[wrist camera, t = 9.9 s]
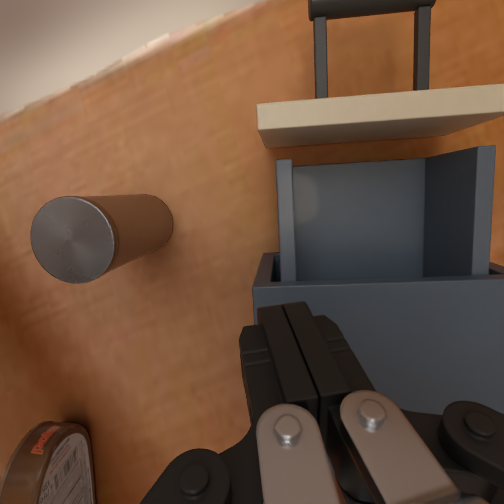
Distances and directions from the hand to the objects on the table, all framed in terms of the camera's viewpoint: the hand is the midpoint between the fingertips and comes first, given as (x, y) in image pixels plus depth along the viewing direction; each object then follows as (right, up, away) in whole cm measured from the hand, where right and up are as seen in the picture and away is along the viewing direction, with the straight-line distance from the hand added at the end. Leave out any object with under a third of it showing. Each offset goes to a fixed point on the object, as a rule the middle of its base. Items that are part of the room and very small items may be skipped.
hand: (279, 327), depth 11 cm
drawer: (+6, +7, +13) cm, 16 cm away
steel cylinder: (-9, +5, +15) cm, 18 cm away
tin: (-16, -17, +20) cm, 31 cm away
